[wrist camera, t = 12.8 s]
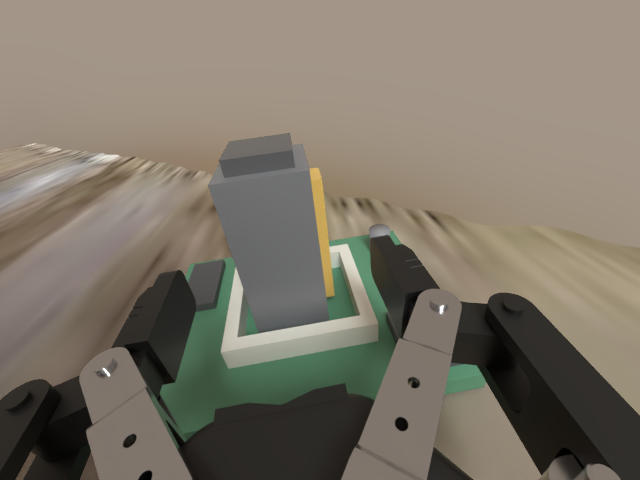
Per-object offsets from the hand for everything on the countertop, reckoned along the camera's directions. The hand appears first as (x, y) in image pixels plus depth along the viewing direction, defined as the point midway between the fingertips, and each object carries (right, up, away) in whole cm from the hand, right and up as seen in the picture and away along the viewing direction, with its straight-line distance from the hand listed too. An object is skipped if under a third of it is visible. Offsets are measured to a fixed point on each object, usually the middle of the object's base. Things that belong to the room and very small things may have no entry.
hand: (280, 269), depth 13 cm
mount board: (0, -4, +8) cm, 9 cm away
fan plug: (0, -3, +7) cm, 8 cm away
